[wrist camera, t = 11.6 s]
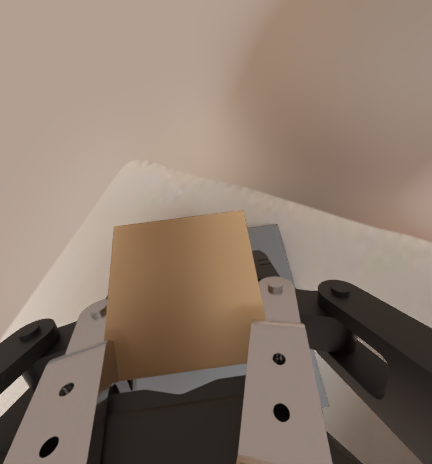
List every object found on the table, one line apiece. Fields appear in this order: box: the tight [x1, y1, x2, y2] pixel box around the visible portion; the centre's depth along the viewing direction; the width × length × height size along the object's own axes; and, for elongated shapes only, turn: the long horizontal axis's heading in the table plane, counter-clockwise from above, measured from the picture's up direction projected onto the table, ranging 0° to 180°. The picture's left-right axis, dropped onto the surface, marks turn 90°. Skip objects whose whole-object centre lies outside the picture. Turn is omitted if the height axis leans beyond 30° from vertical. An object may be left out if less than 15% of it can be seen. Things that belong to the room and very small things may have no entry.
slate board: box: [137, 224, 329, 408], centre depth 20 cm, size 16×16×1 cm
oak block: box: [104, 210, 266, 381], centre depth 10 cm, size 4×4×9 cm
